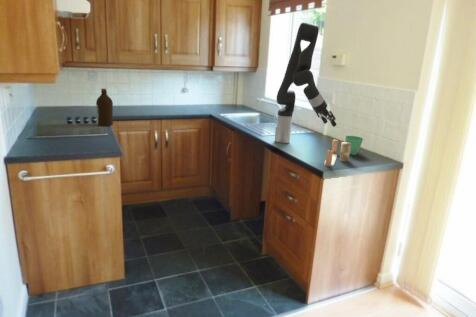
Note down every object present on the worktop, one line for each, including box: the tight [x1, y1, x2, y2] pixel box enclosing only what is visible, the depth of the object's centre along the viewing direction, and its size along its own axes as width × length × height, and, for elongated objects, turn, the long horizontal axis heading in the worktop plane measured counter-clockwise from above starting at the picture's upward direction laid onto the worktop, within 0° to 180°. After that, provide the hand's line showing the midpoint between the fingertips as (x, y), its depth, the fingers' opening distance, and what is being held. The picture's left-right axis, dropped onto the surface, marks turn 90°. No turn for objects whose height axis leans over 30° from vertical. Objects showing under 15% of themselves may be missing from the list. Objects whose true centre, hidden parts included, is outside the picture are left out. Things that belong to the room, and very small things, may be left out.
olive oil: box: [95, 88, 114, 127], centre depth 249 cm, size 11×11×25 cm
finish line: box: [323, 139, 339, 168], centre depth 201 cm, size 5×31×8 cm, turn 160°
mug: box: [345, 135, 364, 156], centre depth 217 cm, size 15×10×10 cm
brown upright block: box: [338, 141, 351, 163], centre depth 200 cm, size 5×5×10 cm
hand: (330, 124), depth 203 cm, fingers open, 8 cm apart
